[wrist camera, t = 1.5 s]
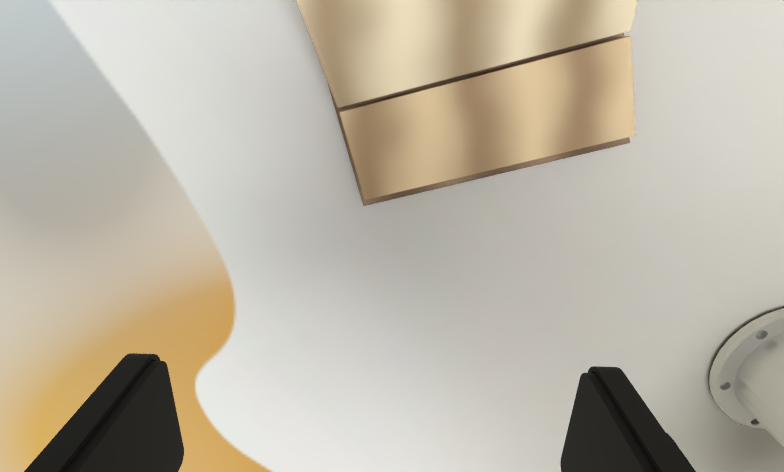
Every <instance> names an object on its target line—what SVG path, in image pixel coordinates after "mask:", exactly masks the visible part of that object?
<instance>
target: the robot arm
mask: <svg viewBox="0 0 784 472" xmlns="http://www.w3.org/2000/svg"><path fill="white" fill-rule="evenodd" d="M709 385H710V391H711V394H712V396H713V398H714V400H715V402H716V403H717V405H718V406H719V407H720V408H721V409H722V410H723V412H724V413H725V414H727V415H728V416H729V417H730V418H731V419H732V420H734V421H736V422H738V423H740V424H742V425H745V426H748V427H752V428H760V429H766V430H767V431H768V432H769V433H770V434H771V435H772V436H773V437H774V438H775V439H776V440H777V441H778V442H779V443H780V444H781V445H782V447H783V448H784V308H782V309H779V310H776V311H773V312H770V313H767V314H765V315H763V316H761V317H759V318H757V319H755V320H753V321H751V322H750V323H748V324H747V325H745V326H744V327H742V328H741V329H740V330H738V331H737V332H736V333H735V334H734V335H733V336H732V337H731V338H730V339H729V340H728V341H727V342H726V343H725V344H724V346H723V347H722V348H721V349H720V351H719V353H718V354H717V356H716V358H715V360H714V362H713V365H712V368H711V371H710V379H709ZM183 456H184V447H183V443H182V437H181V432H180V428H179V422H178V417H177V412H176V407H175V402H174V397H173V392H172V387H171V383H170V377H169V372H168V368H167V364H166V363H165V362H164V361H160V359H159V357H158V356H157V355H155V354H127V355H126V356H125V357H124V358H123V359H122V360H121V361H120V362H119V363H118V365H117V366H116V367H115V368H114V369H113V370H112V372H111V373H110V374H109V375H108V376H107V377H106V378H105V380H104V381H103V382H102V383H101V384H100V385H99V386H98V388H97V389H96V390H95V391H94V392H93V393H92V394H91V396H90V397H89V398H88V399H87V400H86V401H85V402H84V404H83V405H82V406H81V407H80V408H79V409H78V410H77V412H76V413H75V414H74V415H73V416H72V417H71V418H70V420H69V421H68V422H67V423H66V424H65V425H64V427H63V428H62V429H61V430H60V431H59V432H58V433H57V435H56V436H55V437H54V438H53V439H52V440H51V441H50V443H49V444H48V445H47V446H46V447H45V448H44V449H43V451H42V452H41V453H40V454H39V455H38V456H37V458H36V459H35V460H34V461H33V462H32V463H31V464H30V465H29V467H28V468H27V469H26V470H25V471H24V472H178V471H179V468H180V466H181V464H182V460H183ZM561 471H562V472H696V471H695V470H694V469H693V467H692V466H691V464H690V463H689V461H688V460H687V459H686V457H685V456H684V454H683V453H682V452H681V450H680V449H679V447H678V446H677V445H676V443H675V442H674V440H673V439H672V438H671V437H670V436H669V435H668V434H667V433H665V431H664V430H663V428H662V427H661V425H660V424H659V423H658V421H657V420H656V418H655V417H654V415H653V414H652V413H651V411H650V410H649V408H648V407H647V405H646V404H645V403H644V401H643V400H642V398H641V397H640V395H639V394H638V393H637V391H636V390H635V388H634V387H633V385H632V384H631V383H630V381H629V380H628V378H627V377H626V375H625V374H624V373H623V371H622V370H621V369H620V368H617V367H591V368H590V369H589V371H588V373H583V374H582V375H581V377H580V381H579V385H578V389H577V394H576V398H575V402H574V406H573V410H572V415H571V419H570V423H569V427H568V431H567V436H566V440H565V444H564V448H563V452H562V457H561Z"/></svg>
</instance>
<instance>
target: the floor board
mask: <svg viewBox="0 0 784 472" xmlns="http://www.w3.org/2000/svg"><path fill="white" fill-rule="evenodd" d="M327 82H328V81H327ZM328 85H329V84H328ZM329 88H330V87H329ZM330 92H331V89H330ZM331 95H332V99H333V102H334V106H335V109H336V112H337V116H338V119H339V123H340V126H341V130H342V133H343V137H344V140H345V143H346V147H347V150H348V154H349V157H350V161H351V164H352V167H353V171H354V174H355V178H356V181H357V185H358V188H359V191H360V195H361V198H362V202H363V205H364V206H366V205H370V204H374V203H378V202H383V201H387V200H391V199H395V198H399V197H404V196H408V195H412V194H416V193H421V192H425V191H429V190H433V189H437V188H442V187H446V186H450V185H454V184H458V183H463V182H467V181H471V180H475V179H479V178H484V177H488V176H492V175H496V174H501V173H505V172H509V171H513V170H517V169H522V168H526V167H530V166H534V165H538V164H543V163H547V162H551V161H555V160H559V159H564V158H568V157H572V156H576V155H581V154H585V153H589V152H593V151H597V150H602V149H606V148H610V147H614V146H618V145H623V144H627V143H630V137H631V136H636V132H635V111H634V91H633V71H632V50H631V36H624V33H620V34H617V35H613V36H609V37H605V38H601V39H598V40H594V41H590V42H586V43H582V44H579V45H575V46H571V47H567V48H564V49H560V50H556V51H552V52H548V53H545V54H541V55H537V56H533V57H529V58H526V59H522V60H518V61H514V62H510V63H507V64H503V65H499V66H495V67H491V68H488V69H484V70H480V71H476V72H472V73H469V74H465V75H461V76H457V77H453V78H450V79H446V80H442V81H438V82H434V83H431V84H427V85H423V86H419V87H415V88H412V89H408V90H404V91H400V92H396V93H393V94H389V95H385V96H381V97H377V98H374V99H370V100H366V101H362V102H358V103H355V104H351V105H347V106H343V107H340V108H338V107H337V105H336V102H335V99H334V97H333V94H332V92H331Z"/></svg>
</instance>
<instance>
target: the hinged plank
mask: <svg viewBox="0 0 784 472" xmlns="http://www.w3.org/2000/svg"><path fill="white" fill-rule="evenodd" d="M296 2H297V4H298V7H299V10H300V12H301V15H302V17H303V20H304V22H305V25H306V28H307V30H308V33H309V35H310V38H311V40H312V43H313V46H314V48H315V51H316V53H317V56H318V58H319V61H320V64H321V66H322V69H323V71H324V74H325V76H326V79H327V81H328V84H329V87H330V89H331V92H332V94H333V97H334V99H335V102H336V105H337V107H338V108H340V107H343V106H347V105H351V104H355V103H358V102H362V101H366V100H370V99H374V98H377V97H381V96H385V95H389V94H393V93H396V92H400V91H404V90H408V89H412V88H415V87H419V86H423V85H427V84H431V83H434V82H438V81H442V80H446V79H450V78H453V77H457V76H461V75H465V74H469V73H472V72H476V71H480V70H484V69H488V68H491V67H495V66H499V65H503V64H507V63H510V62H514V61H518V60H522V59H526V58H529V57H533V56H537V55H541V54H545V53H548V52H552V51H556V50H560V49H564V48H567V47H571V46H575V45H579V44H582V43H586V42H590V41H594V40H598V39H601V38H605V37H609V36H613V35H617V34H620V33H624V32H628V31H631V30H632V25H633V20H634V15H635V10H636V5H637V0H296Z"/></svg>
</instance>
